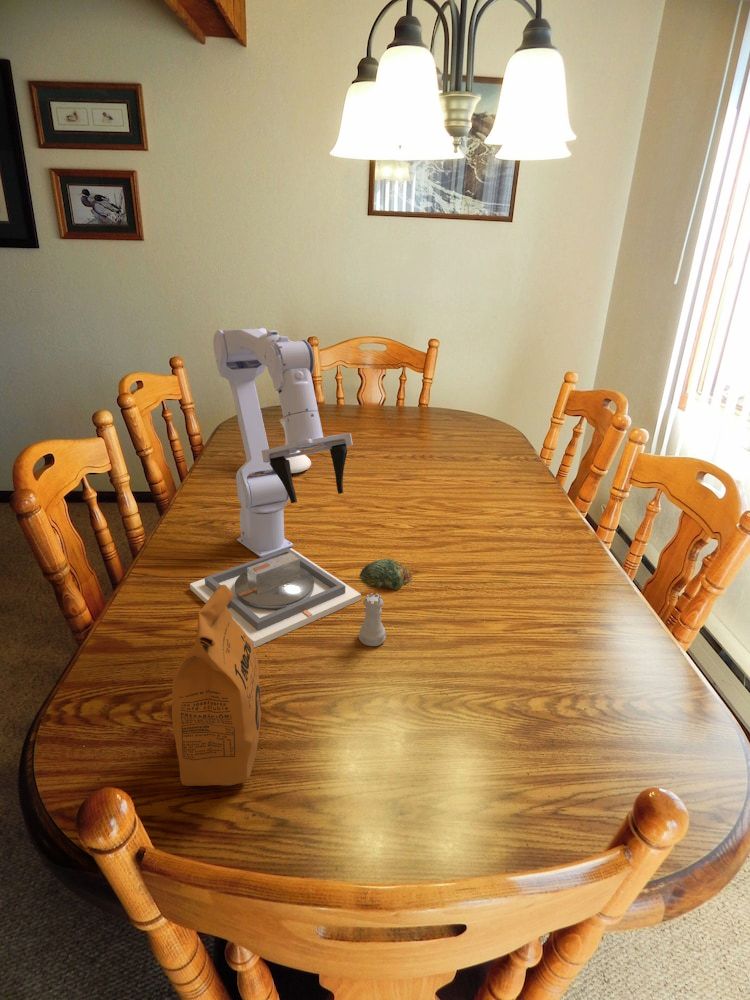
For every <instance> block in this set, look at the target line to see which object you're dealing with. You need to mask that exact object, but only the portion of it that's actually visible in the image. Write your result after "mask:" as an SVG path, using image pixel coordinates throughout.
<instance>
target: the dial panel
mask: <svg viewBox="0 0 750 1000" xmlns="http://www.w3.org/2000/svg"><path fill="white" fill-rule="evenodd" d="M290 552H291V553H292V554H294V555H295V556H297V557H298V558H299V559H300V567H301V568H304V569H305V570H307V571H308V572H309V573H310V574H311V575H312V577H313V579H314V590H313V592H312V594H311V595H310V596H309V597H308V598H306V599H304V600H302V601H299V602H297V603H295V604H292V605H290V606H287V607H285V608H283V609H272V610H271V609H259V608H254V607H251V606H248V605H246V604H244V603H243V602H241V601H240V600H239V599H238V598H237V596H236V594H235V582H236V580H237V578H238V577H239V576H240V575H241V574H242V573H244V572H245V571H247V568H248V567H251V566H253V565H256V564H259V563H262V562H265V561H267V560H270V559H273V558H276V557H279V556H281V555H284V554H287V553H290ZM219 585H226V586H227V587H228V588H229V590H230V591H231V592H232V593H233V597H232V599H231V601H230V602H229V603H228V604H227V608H228V610H229V612H230V613H231V616H232V618H233V620H234V621H235V622H236V623H237V624H238V625H239V626H240V627H241V628H242V629H243V631H244V632H245V633H246V635H247V636H248V638H249V639H250V640H251V642H252V644H253V647H254V649H255V648H257V647H259V646H262V645H264V644H266V643H268V642H271V641H273V640H274V639H277V638H279V637H282V636H283V635H286V634H288V633H290V632H293V631H295V630H297V629H300V628H301V627H303V626H306V625H308V624H311V623H313V622H315V621H317V620H319V619H321V618H324V617H326V616H328V615H331V614H333V613H335V612H337V611H340V610H341V609H344V608H346V607H348V606H350V605H352V604H355V603H357V602H359V601H361V600H362V594H361V592H359V591H357V590H356V589H354V588H353V587H351V586H350V585H348V584H346V583H345V582H344V581H342V580H341V579H339V578H337V577H336V576H335V575H333V574H331V573H330V572H329V571H326V570H325V569H324V568H322V567H321V566H319V565H318V564H316V563H314V562H313V561H311V560H310V559H308V558H307V557H306V556H304V555H303V554H301V553H300V552H298V551H296V550H295V549H294V548H292V547H289V548H286V549H283V550H280V551H278V552H275V553H272V554H269V555H266V556H263V557H259V558H256V559H254V560H251V561H247V562H245V563H242V564H238V565H236V566H233V567H230V568H228V569H225V570H222V571H219V572H217V573H214V574H210V575H208V576H205V577H204V578H202V579H199V580H197V581H194V582H191V583H189V587H190V588H189V589H190V591H192V592H193V593H194V594H195V595H196V596H197V597H198V598H199V599H200V600H201V601H203V603H205V604H206V602H207V601H208V600H209V599H210V597H211V596H212V595H213V594H214V592H215V591H216V589H217V588H218V587H219Z"/></svg>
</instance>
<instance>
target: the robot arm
mask: <svg viewBox="0 0 750 1000" xmlns="http://www.w3.org/2000/svg"><path fill="white" fill-rule="evenodd" d="M213 353H214V357H215V363H216V366H217V371H218V373H219V377H221V378H223V379H225V380H228V383H229V386H230V391H231V393H232V398H233V403H234V406H235V411H236V417H237V421H238V427H239V432H240V435H241V439H242V443H243V449H244V453H245V459H246V461H245V462H244V463H243V464H242V466H241V467H239V469H238V470H237V471H236V476H235V481H236V493H237V498H238V500H239V504H240V506H241V507H240V509H239V526H240V537H238V538H236V540H237V542H239V543H240V544H242V546H244V547H246V548H247V549H248V550H250V551H251V552H252V553H253V554H255V555H257V556H258V557H259V558H262V557H264V556H267V555H270V554H273V553H276V552H279V551H282V550H284V549H287V548H289V549H290V548H292V547H293V546H294V543H292V542H291V541H290V540H288V539H286V538H285V523H284V522H285V518H284V508H286V507H287V502H290V504H296V503H298V499H297V494H296V490H295V486H294V482H293V477H292V473H291V469H290V462H289V460H286V458H290V457H295V456H300V455H309V454H314V453H315V454H316V453H319V452H323V451H329V452H330V455H331V456H330V458H331V461H332V465H333V470H334V475H335V482H336V483H335V484H336V490H337V494H338V495H339V494H340V495H341V494H344V487H343V486H344V470H345V465H346V460H347V454H348V448H347V447H352V446H353V445H354V444H353V439H352V434H351V432H345V433H341V434H335V435H328V436H324V432H323V428H322V422H321V418H320V414H319V407H318V404H317V398H316V393H315V388H314V383H313V379H312V378H313V377H312V374H313V373H314V368H315V354H314V351H313V348H312V346H311V343H309V342H308V341H307V340H306V339H301V340H298V341H292V340H290V338H289V336H286V335H279V331H278V330H275V329H273V330H269V329H268V330H267V329H266V327H258V328H243V329H242V328H241V329H223V330H222V329H217V330H216V332H215V333H214V334H213ZM266 368H267V371H268V374H269V376H270V378H271V380H272V383H273V384H272V385H273V388H274V390H275V391H277V392H278V397H279V401H280V407H281V413H282V419H283V418H284V423H285V428H286V433H287V439H288V444H287V445H285V444H283V445H280V446H279V445H278V446H276V447H272V448H270V447H269V444H268V443H269V442H268V438H267V434H266V429H265V425H264V421H263V420H264V419H263V415H262V410H261V405H260V401H259V396H258V390H257V388H256V382H255V381H256V378H257V377H259V376H260V375H262V374H263V373H265V369H266ZM298 450H299V451H300V452H298V453H296V452H297V451H298ZM303 450H304V451H303ZM290 453H293V454H290Z"/></svg>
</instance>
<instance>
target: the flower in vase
mask: <svg viewBox="0 0 750 1000" xmlns="http://www.w3.org/2000/svg"><path fill="white" fill-rule="evenodd" d="M279 422H280V424H281V427H282V429H283V431H284V435H285V436H284V439H285V441H284V442H285V443H284V445H287V444H288V439H287V433H286V428H285V423H284V418H283V417H282V418H281V419H279ZM298 452H301V450H298V451H297V452H296V453H298ZM290 454H293V453H290ZM286 460H289V462H290V469H291V474H297V473H301V472H304V471H307V470H308V469H309V468H310V467H311V466H312V461H311V459H310V458H309V457H308V456H307V454H305V455H300V456H295V457H290V458H286Z"/></svg>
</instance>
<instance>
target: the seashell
mask: <svg viewBox="0 0 750 1000" xmlns="http://www.w3.org/2000/svg"><path fill="white" fill-rule="evenodd" d="M411 573H412V572H410V571H409V569H407V567H406V566H405V565H403V564H402V562H399V561H397V560H394V559H391V558H384V559H378V560H375V561H373V562H371V563H369V564H367V565H365V566H364V567H363V568H362V569H361V571H360V573H359V577H360V579H361V580H362V582H363V583H365V584H366V585H368V586H370V587H375V588H378V589H391V590H393V591H394V590H395V591H396V590H400V588H401V587H402V586H405V585H407V584H409V583H410V582H411V581H412V580H413V575H412V574H411Z"/></svg>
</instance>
